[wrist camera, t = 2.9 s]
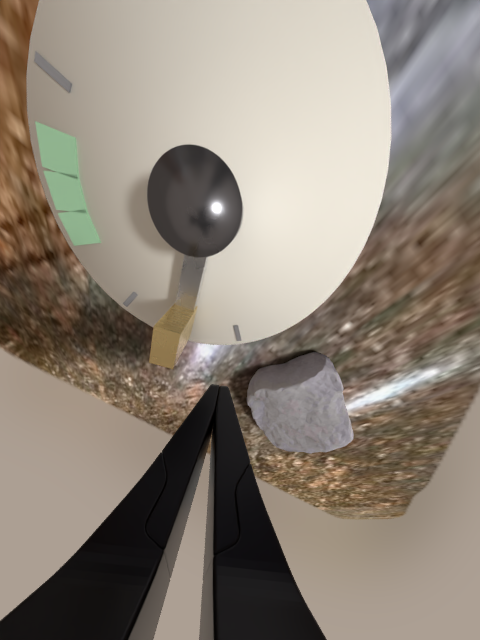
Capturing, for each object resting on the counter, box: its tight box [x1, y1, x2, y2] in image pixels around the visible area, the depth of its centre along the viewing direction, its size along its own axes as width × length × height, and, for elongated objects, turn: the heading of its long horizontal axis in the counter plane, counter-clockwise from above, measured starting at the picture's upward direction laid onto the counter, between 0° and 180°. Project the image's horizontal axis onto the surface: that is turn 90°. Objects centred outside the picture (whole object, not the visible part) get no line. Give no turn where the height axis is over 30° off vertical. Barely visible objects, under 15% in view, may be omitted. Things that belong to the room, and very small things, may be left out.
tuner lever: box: [147, 144, 243, 369], centre depth 11 cm, size 13×4×4 cm, turn 161°
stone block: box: [247, 352, 353, 453], centre depth 20 cm, size 12×5×10 cm
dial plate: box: [27, 0, 391, 345], centre depth 12 cm, size 21×21×1 cm
